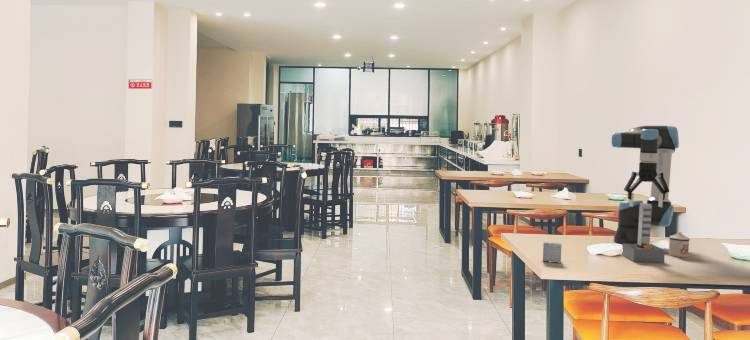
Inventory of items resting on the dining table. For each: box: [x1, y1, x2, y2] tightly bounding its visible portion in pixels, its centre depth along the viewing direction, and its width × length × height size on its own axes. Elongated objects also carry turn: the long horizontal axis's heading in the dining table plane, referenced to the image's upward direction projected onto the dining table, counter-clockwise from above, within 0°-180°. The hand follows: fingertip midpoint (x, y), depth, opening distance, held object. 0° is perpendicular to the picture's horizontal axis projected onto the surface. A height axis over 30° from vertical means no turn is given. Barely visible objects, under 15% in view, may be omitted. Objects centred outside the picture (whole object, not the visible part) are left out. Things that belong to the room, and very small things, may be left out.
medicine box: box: [542, 241, 562, 264], centre depth 269 cm, size 8×4×9 cm, turn 71°
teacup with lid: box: [668, 231, 690, 258], centre depth 291 cm, size 12×9×12 cm
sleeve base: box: [621, 243, 666, 264], centre depth 280 cm, size 14×14×8 cm
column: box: [637, 202, 652, 246], centre depth 278 cm, size 5×4×20 cm
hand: (645, 206), depth 278 cm, fingers open, 13 cm apart
